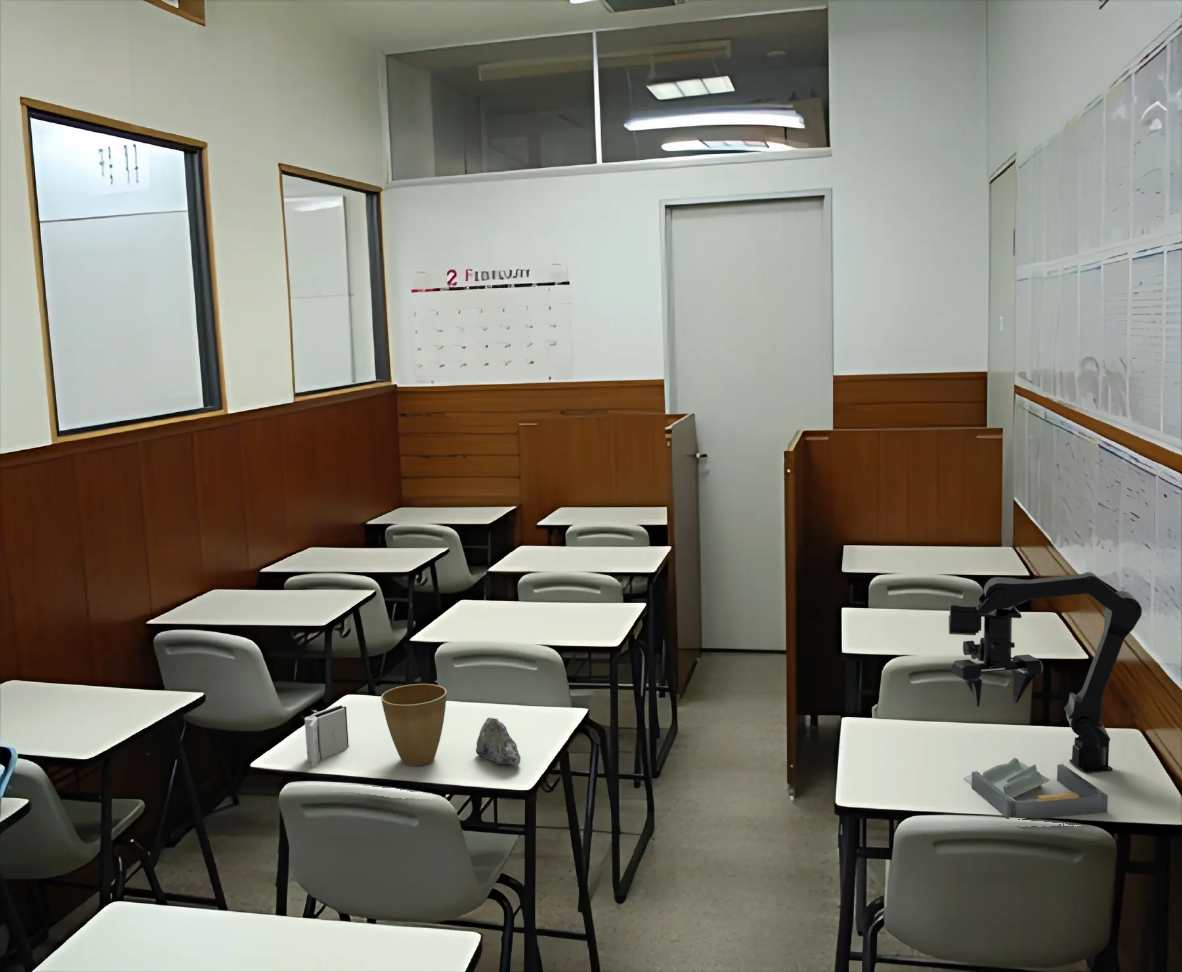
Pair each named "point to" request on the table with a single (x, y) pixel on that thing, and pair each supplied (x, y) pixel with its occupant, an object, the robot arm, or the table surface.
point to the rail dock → (1046, 798)
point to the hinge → (326, 733)
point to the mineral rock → (497, 743)
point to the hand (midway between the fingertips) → (996, 704)
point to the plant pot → (415, 720)
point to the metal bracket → (1013, 778)
